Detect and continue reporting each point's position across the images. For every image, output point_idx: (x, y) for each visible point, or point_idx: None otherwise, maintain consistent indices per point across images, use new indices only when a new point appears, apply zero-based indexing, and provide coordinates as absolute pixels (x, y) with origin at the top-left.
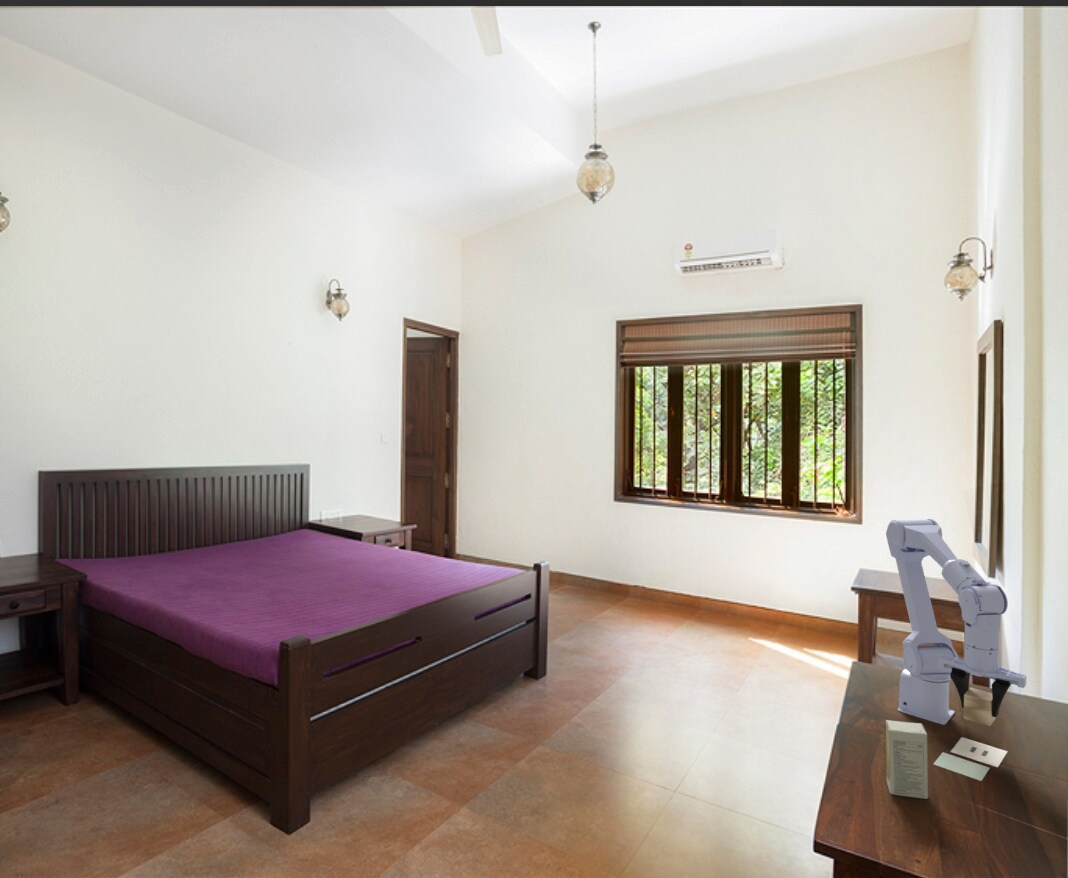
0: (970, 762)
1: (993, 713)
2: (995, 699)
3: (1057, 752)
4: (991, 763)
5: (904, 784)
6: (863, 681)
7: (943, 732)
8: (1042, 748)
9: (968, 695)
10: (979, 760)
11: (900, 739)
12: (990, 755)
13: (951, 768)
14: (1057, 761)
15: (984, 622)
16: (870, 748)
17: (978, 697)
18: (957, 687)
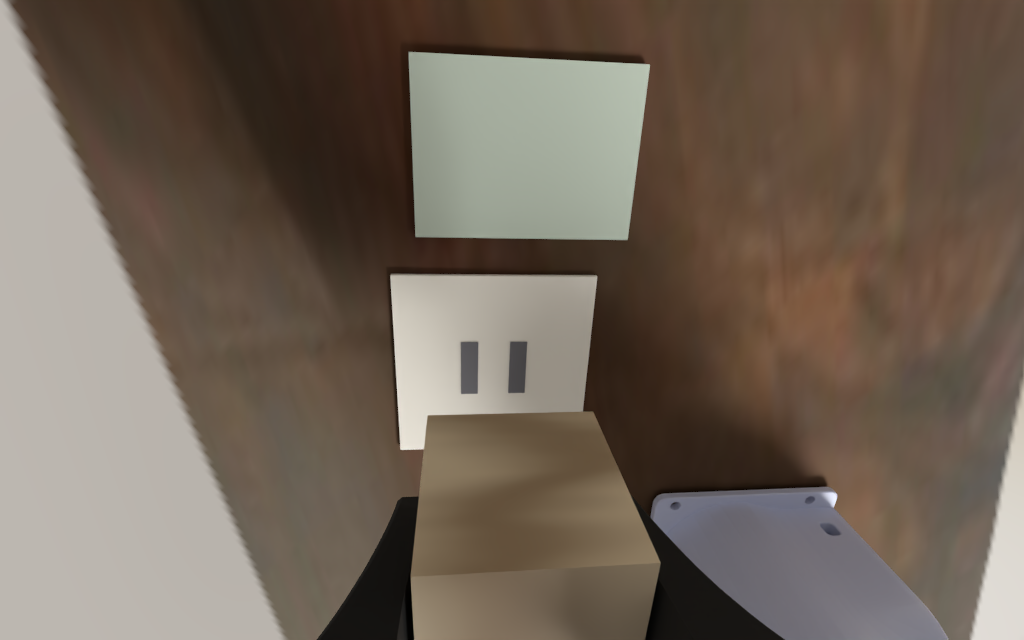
0: (499, 227)
1: (410, 512)
2: (368, 627)
3: (260, 569)
4: (422, 293)
5: None
6: (952, 619)
7: (649, 439)
8: (311, 563)
9: (621, 569)
10: (472, 283)
11: None
12: (445, 367)
13: (562, 83)
14: (233, 504)
15: None
16: (955, 19)
17: (532, 589)
18: (747, 623)
